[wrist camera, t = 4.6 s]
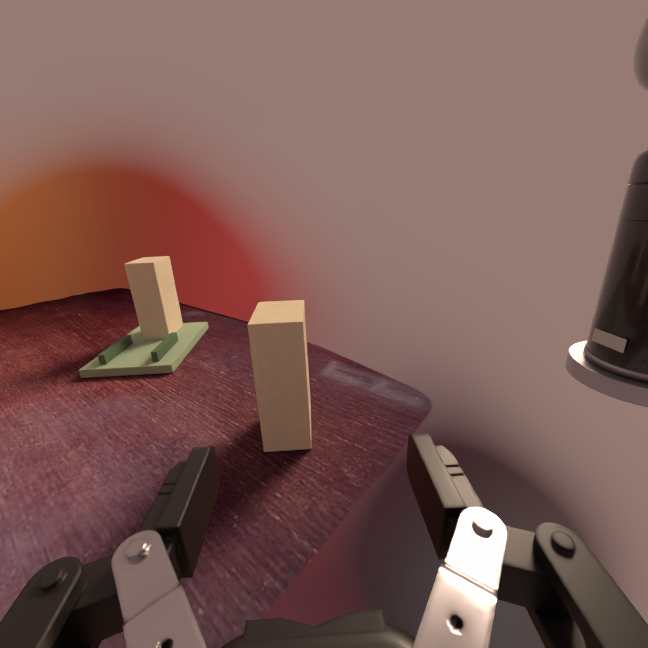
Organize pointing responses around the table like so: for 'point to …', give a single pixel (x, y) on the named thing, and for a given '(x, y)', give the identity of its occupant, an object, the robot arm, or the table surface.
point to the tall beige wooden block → (281, 374)
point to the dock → (143, 355)
